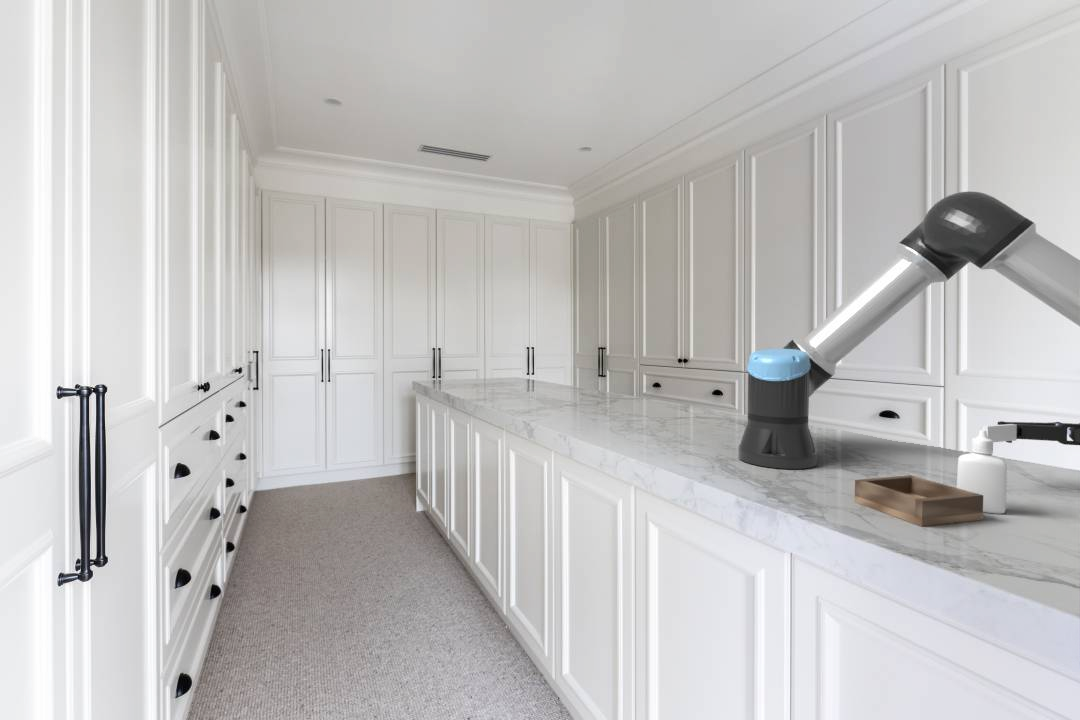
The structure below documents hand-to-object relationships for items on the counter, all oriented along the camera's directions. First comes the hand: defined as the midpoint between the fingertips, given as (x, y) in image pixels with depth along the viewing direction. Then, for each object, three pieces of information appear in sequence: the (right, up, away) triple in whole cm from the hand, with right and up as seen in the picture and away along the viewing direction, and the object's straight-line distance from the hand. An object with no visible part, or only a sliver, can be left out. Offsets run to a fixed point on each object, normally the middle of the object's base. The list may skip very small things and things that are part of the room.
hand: (1032, 441), depth 79 cm
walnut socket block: (-20, -10, -2) cm, 22 cm away
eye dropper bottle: (-10, -10, -2) cm, 14 cm away
